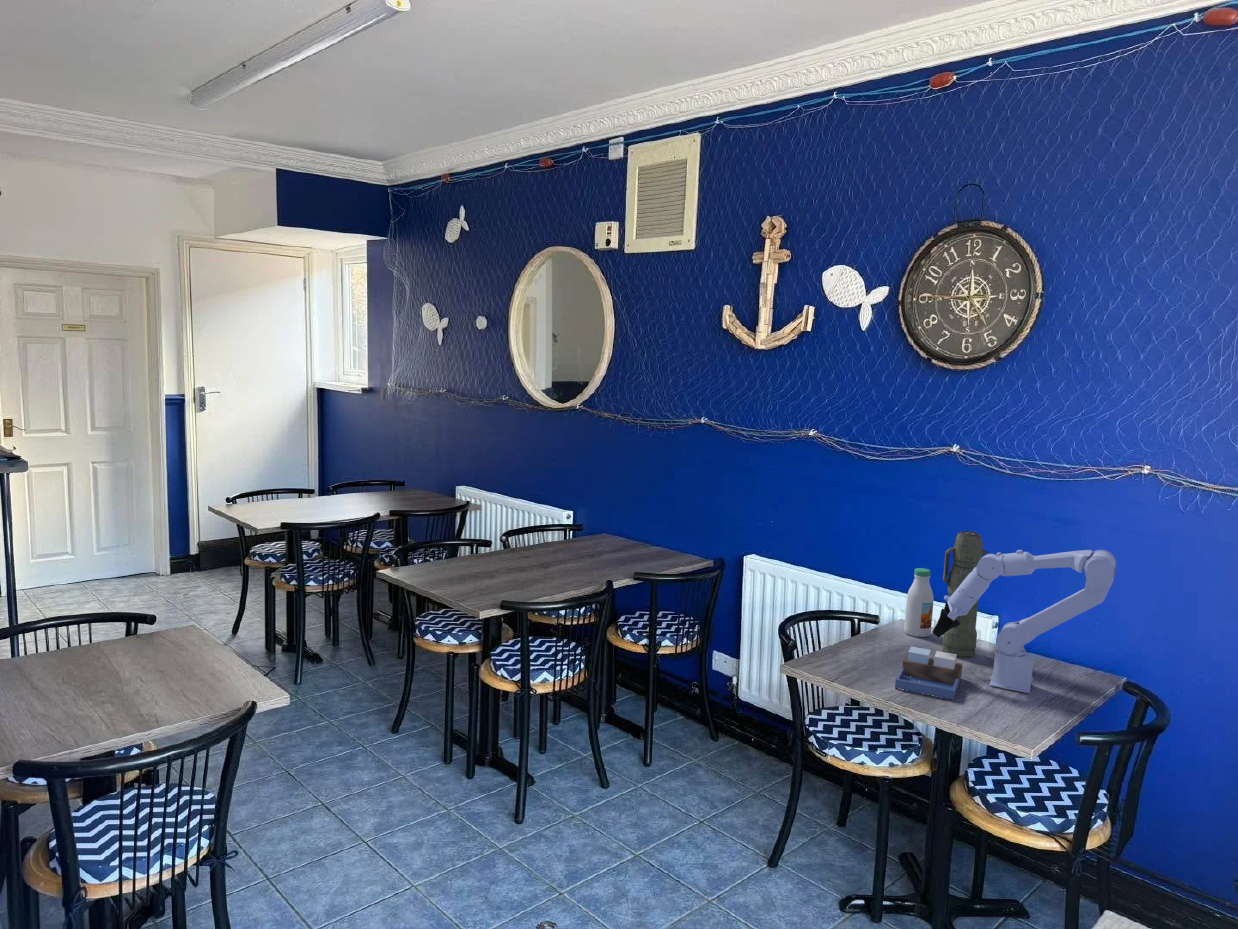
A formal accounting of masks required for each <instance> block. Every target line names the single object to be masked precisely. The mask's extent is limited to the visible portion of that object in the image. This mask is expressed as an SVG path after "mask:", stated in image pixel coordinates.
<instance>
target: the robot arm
mask: <svg viewBox="0 0 1238 929" xmlns="http://www.w3.org/2000/svg"><path fill="white" fill-rule="evenodd" d="M1057 568H1070V569H1072V570H1075V571H1076V572H1077V573H1080V574H1082V573H1083V570H1084V574H1085V578H1086V579H1085V584H1084V588H1083V589H1081V590H1078V591H1076V592H1075V593H1073V594H1071V595H1070V596H1067V597H1066V598H1063V599H1061V600H1060V601H1057V602H1055V603H1054V604H1052V605H1050V606H1049V607H1047V608H1045V609H1043V610H1041V611H1039V612H1037V613H1036V614H1033V615H1031V616H1030V617H1027V618H1022V619H1021V620H1019V621H1010V622H1008V623H1005V624H1004V625H1003V627H1002V628H1001V631H1000V632H999V633H997V636H996V637H995V643H996V646H995V649H994V660H993V669H992V675H990V676H991V677H990V681H989V686H990V687H994V688H999V689H1000V688H1001V689H1005V690H1009V691H1010V690H1011V691H1015V692H1020V693H1021V692H1022V693H1027V694H1030V692H1031V686H1032V685H1033V683H1034V682H1033V681H1034V676H1033V669H1034V658H1035V657H1034V656H1035V655H1033V654H1029V653H1027V651H1026V649H1025V647H1024V646H1025V645H1027V644H1029V643H1030V642H1032V641H1033V640H1034V639H1036V638H1037V637H1038V636H1040V635H1042V634H1044V633H1046V632H1048V631H1050V630H1052V629H1053V628H1055V627H1057V626H1060V625H1061V624H1063V623H1065V622H1068V621H1069V620H1072V619H1073V618H1075V617H1078V616H1079V615H1081V614H1083V613H1085V612H1087V611H1088V610H1091V609H1093V608H1094V607H1097V606H1099V605H1100V604H1102V603H1103V602H1104V601H1105V600H1106V597H1107V595H1108V593H1109V591H1110V588H1111V587H1112V584H1113V583H1114V581H1115V580H1114V579H1115V576H1116V573H1117V561H1116V557H1115V556H1114V554H1113V553H1111V552H1110V551H1108V550H1105V549H1097V550H1094V551H1093V550H1092V549H1084V550H1083V549H1082V550H1072V551H1065V552H1056V553H1049V554H1041V555H1033V554H1031V553H1030V552H1028V551H1023V549H1017V550H1016V551H1015V552H1012V553H1011V552H1010V553H1002V552H996V554H994V553H989V554H987V555H986V554H984V556H982V558H981V560H980V561H979V562H978V564H977V567H975V568H974V569H973V570H972V572H971V573H969V575H968V576H967V577H966V578H965V579H964V581H963V582H962V583H961V584H960V586H959V587H958V588H957V589H956V591H955V592H954V593H953V594H952V596H951V597H949V595H946V594H945V595H944V597H943V599H944V600H945V602H944V603H945V605H944V608H942V609H941V610H940V614H939V618H938V620H937V621H936V624H935V625H934V628H933V629H932V631H931V632H932V633H931V634H933V635H934V636H936V637H937V638H939V639H940V637H943V634H945V633H946V632H947V631H948V630H950V629H951V628H953V627H956V626H958V625H960V622H959V621H957V620H956V618H957V617H959V616H963V615H967V614H968V613H969V610H970V609H971V608H972V607H973V605H974V604H975V603H976V602H977V600H978V601H979V599H980V598H981V597H982V596H983V595H984V593H985V592H986V591H987V589H988V588H989V587H990V584H991V583H992V582H993V580H996V579H997V578H999V577H1000V576H1002V577H1013V576H1025V575H1031V574H1033V572H1034V571H1035V570H1037V569H1057Z"/></svg>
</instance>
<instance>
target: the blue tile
mask: <svg viewBox="0 0 1238 929" xmlns="http://www.w3.org/2000/svg"><path fill="white" fill-rule="evenodd" d="M931 652H932V650H931V649H927V648H923V647H916V646H910V648H909V650H908V651H907V654H908V661H910V662H916V663H921V664H926V665H928V662H929V660H930V658H931Z"/></svg>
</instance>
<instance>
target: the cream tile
mask: <svg viewBox="0 0 1238 929" xmlns="http://www.w3.org/2000/svg"><path fill="white" fill-rule="evenodd" d="M933 658H934V665H933V666H937V667H942V668H948V669H953V670H954V668H955V665H956V663H957V659H958V658H957V655H956V654H951V653H945V652H942V651H939V650H936V652H935V654H934V655H933Z"/></svg>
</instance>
